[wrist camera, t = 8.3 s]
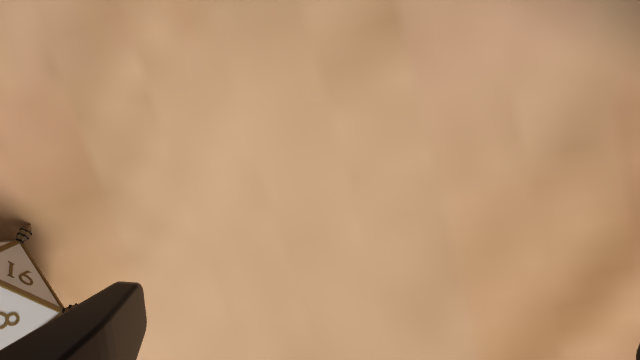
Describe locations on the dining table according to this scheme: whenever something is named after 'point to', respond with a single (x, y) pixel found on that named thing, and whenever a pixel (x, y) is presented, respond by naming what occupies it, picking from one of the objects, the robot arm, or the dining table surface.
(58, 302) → the game die
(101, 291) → the robot arm
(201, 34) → the dining table surface
